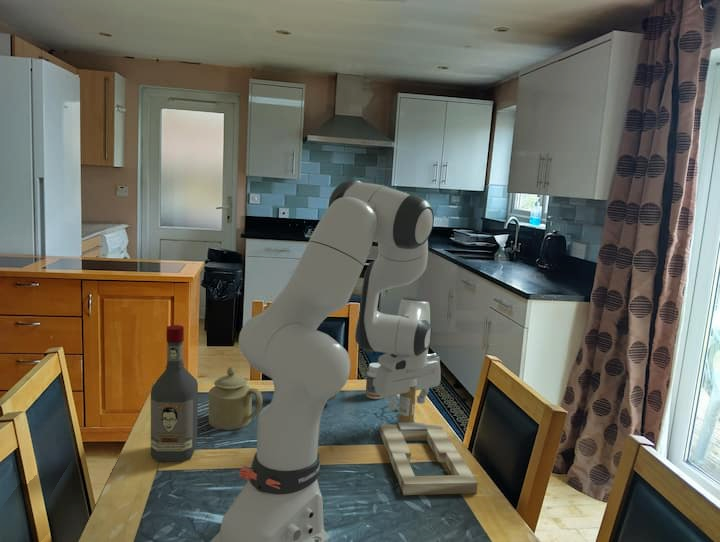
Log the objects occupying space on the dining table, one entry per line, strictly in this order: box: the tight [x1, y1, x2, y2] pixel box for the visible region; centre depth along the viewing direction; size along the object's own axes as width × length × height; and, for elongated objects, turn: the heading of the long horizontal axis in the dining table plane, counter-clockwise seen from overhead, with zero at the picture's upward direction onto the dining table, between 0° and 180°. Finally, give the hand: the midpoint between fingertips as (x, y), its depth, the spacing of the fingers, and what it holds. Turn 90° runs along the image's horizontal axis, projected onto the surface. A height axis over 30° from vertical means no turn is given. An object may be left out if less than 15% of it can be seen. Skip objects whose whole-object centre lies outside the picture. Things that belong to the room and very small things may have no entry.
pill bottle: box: [365, 362, 384, 400], centre depth 165 cm, size 6×6×10 cm
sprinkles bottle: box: [397, 379, 417, 424], centre depth 146 cm, size 5×5×13 cm
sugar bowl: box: [208, 366, 264, 431], centre depth 141 cm, size 15×11×15 cm
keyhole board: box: [379, 422, 478, 496], centre depth 128 cm, size 28×16×3 cm, turn 8°
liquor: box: [150, 324, 199, 464], centre depth 122 cm, size 9×9×30 cm
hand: (407, 406), depth 146 cm, fingers open, 8 cm apart
